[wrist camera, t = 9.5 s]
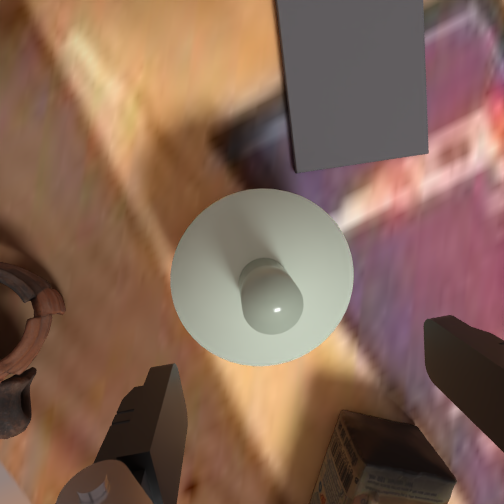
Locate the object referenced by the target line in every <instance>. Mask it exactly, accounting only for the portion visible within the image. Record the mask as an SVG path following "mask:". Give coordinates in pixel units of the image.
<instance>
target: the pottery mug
mask: <svg viewBox="0 0 504 504" xmlns="http://www.w3.org/2000/svg"><path fill="white" fill-rule="evenodd" d="M0 283H3V284H5V285H6V286H8V287H10V288H11V289H12V290H13V291H15V292H16V293H17V294H18V295H19V297H20V298H21V299H22V301H23V302H24V303H26V302H27V301H31V302H32V306H33V309H34V318H30V319H28V320H27V323H26V327H25V331H24V333H23V336H22V338H21V340H20V342H19V343H18V345H17V346H16V347H15V348H14V349H13V350H12V352H11V353H9V354H8V355H7V356H6V357H5V358H3V359H2V360H0V439H8V438H10V437H14V436H16V435H18V434H20V433H22V432H23V431H25V430H26V428H27V426H28V424H29V423H30V420H31V401H30V384H31V382H32V380H33V378H34V376H35V375H36V371H37V370H36V368H34V367H32V368H30V369H28V370H26V371H25V369H26V368H27V367H28V366H29V364H30V363H31V362H32V360H33V359H34V358H35V357H36V355H37V354H38V352H39V351H40V349H41V347H42V345H43V343H44V341H45V339H46V337H47V335H48V333H49V330H50V326H51V321H52V314H56V313H57V314H60V315H63V314H64V312H65V311H66V308H65V304H64V301H63V299H62V296H61V295H60V293H58V292H57V290H56V289H51V286H50V284H49V283H48V281H46V280H44V279H43V278H41V277H39V276H38V275H36V274H34V273H32V272H30V271H27V270H25V269H23V268H21V267H18V266H15V265H11V264H7V263H3V262H0ZM11 373H12V374H15V375H14V376H12V377H10V378H8V379H6V380H4V381H3V379H4V378H5V377H6V376H7V375H8V374H11Z"/></svg>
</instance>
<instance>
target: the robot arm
mask: <svg viewBox="0 0 504 504" xmlns="http://www.w3.org/2000/svg"><path fill="white" fill-rule="evenodd" d="M424 349H425V366H426V370H427V373H428V375H429V377H430V379H431V381H432V382H433V383H434V384H435V385H436V386H437V387H438V388H439V389H440V390H441V391H442V392H443V393H444V394H445V395H446V396H447V397H448V398H449V399H450V400H451V401H452V402H453V403H454V404H455V405H456V406H457V407H458V408H459V409H460V410H461V411H462V412H463V413H464V414H465V415H466V416H467V417H468V418H469V419H470V420H471V421H472V422H473V423H474V424H475V425H476V426H477V427H478V428H479V429H480V430H481V431H482V432H483V433H484V434H486V435H487V436H488V437H489V438H490V439H491V440H492V441H493V442H494V443H495V444H496V445H497V446H498V447H499V448H500V449H501V450H502V451H503V452H504V341H503V340H502V339H500V338H498V337H497V336H495V335H493V334H491V333H489V332H486V331H483V330H479V329H476V328H473V327H471V326H469V325H467V324H466V323H464V322H462V321H461V320H459V319H457V318H456V317H454V316H452V315H448V316H442V317H436V318H431V319H427V320H426V321H425V322H424ZM187 426H188V419H187V409H186V404H185V399H184V395H183V390H182V386H181V381H180V377H179V372H178V368H177V366H176V364H175V363H174V364H168V365H162V366H157V367H151V368H150V370H149V373H148V375H147V378H146V380H145V383H144V386H138V387H134V388H133V389H132V390H131V391H130V392H129V393H128V394H127V395H126V396H125V397H124V398H123V400H122V402H121V404H120V406H119V408H118V411H117V415H115V417H114V419H113V422H112V426H110V428H109V430H108V432H107V435H106V437H105V439H104V441H103V443H102V446H101V448H100V450H99V452H98V454H97V457H96V459H95V461H94V463H93V464H92V465H90V466H88V467H86V468H85V469H83V470H81V471H80V472H79V473H77V474H76V475H75V476H74V477H72V478H71V479H70V480H69V481H68V482H67V484H66V485H65V486H64V487H63V489H62V490H61V492H60V494H59V496H58V498H57V502H56V504H176V503H177V497H178V490H179V483H180V476H181V469H182V462H183V455H184V448H185V441H186V434H187Z"/></svg>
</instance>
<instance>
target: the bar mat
mask: <svg viewBox="0 0 504 504" xmlns="http://www.w3.org/2000/svg"><path fill="white" fill-rule="evenodd" d="M275 1H276V9H277V18H278V26H279V35H280V44H281V52H282V61H283V69H284V78H285V87H286V95H287V104H288V112H289V121H290V130H291V138H292V147H293V155H294V164H295V173H301V172H308V171H315V170H321V169H328V168H335V167H341V166H348V165H355V164H361V163H368V162H375V161H382V160H388V159H395V158H402V157H408V156H415V155H422V154H428V153H429V151H428V124H427V96H426V69H425V41H424V13H423V0H275Z"/></svg>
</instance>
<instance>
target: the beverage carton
mask: <svg viewBox="0 0 504 504" xmlns="http://www.w3.org/2000/svg"><path fill="white" fill-rule="evenodd" d="M456 483H457V480H456V478H455V476H454V475H453V474H452V473H451V471H450V470H449V468H448V467H447V466H446V464H445V463H444V461H443V460H442V459H441V457H440V456H439V455H438V454H437V452H436V451H435V450H434V448H433V447H432V446H431V444H430V443H429V442H428V441H427V439H426V438H425V436H424V435H423V433H422V432H421V431H420V430H419V428H418V427H417V426H414V425H409V424H405V423H398V422H393V421H389V420H385V419H380V418H377V417H373V416H367V415H363V414H358V413H353V412H350V411H346V410H343V411H341V413H340V417H339V419H338V422H337V424H336V427H335V430H334V433H333V436H332V438H331V441H330V444H329V447H328V450H327V453H326V456H325V459H324V462H323V464H322V467H321V471H320V474H319V477H318V480H317V483H316V486H315V488H314V491H313V495H312V498H311V501H310V504H447V503H448V501H449V499H450V497H451V493H452V490H453V488H454V485H455V484H456Z"/></svg>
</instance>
